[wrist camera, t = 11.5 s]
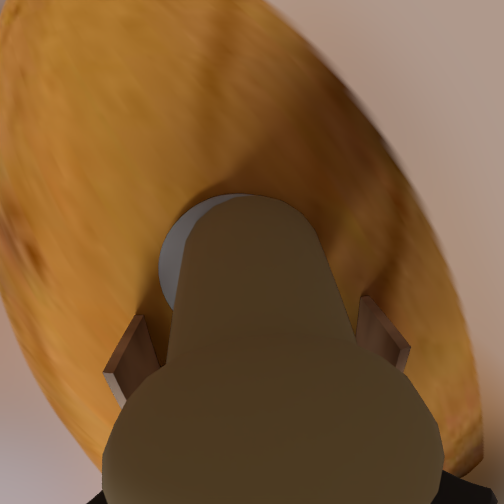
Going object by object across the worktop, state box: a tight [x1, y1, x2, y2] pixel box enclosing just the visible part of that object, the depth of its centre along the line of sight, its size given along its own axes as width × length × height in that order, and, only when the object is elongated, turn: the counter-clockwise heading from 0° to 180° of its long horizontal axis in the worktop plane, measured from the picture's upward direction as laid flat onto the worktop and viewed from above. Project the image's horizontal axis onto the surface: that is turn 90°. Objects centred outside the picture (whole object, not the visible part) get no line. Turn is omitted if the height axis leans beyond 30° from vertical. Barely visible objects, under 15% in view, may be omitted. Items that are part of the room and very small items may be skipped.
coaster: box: [159, 193, 254, 310], centre depth 12 cm, size 7×7×1 cm
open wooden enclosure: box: [103, 296, 411, 409], centre depth 13 cm, size 10×12×4 cm
